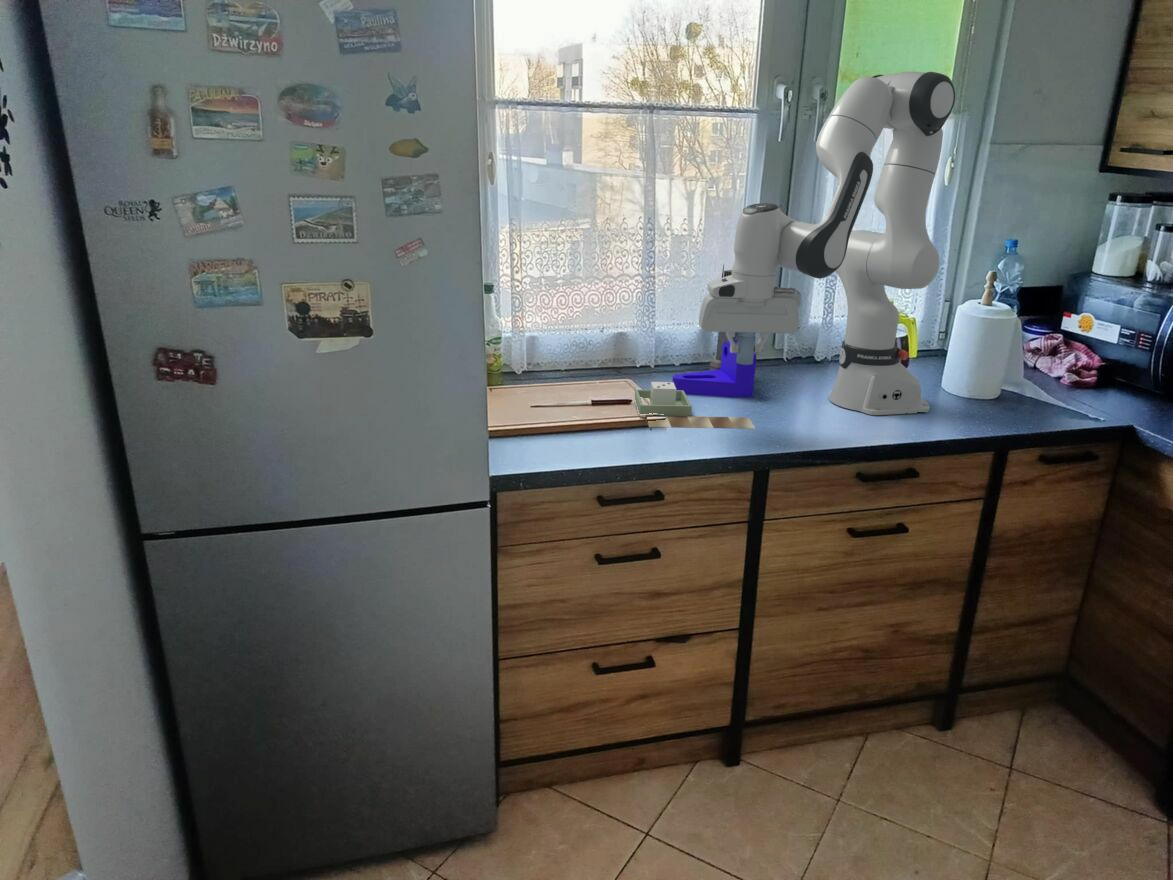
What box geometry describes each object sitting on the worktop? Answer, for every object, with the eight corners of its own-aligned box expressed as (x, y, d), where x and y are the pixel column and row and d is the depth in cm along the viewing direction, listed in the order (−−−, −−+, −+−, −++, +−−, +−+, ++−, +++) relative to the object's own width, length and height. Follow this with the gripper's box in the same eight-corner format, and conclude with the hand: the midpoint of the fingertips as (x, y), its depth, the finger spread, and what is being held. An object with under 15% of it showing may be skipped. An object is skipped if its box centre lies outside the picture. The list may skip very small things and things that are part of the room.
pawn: (750, 360, 185) (754, 323, 182) (754, 365, 182) (758, 327, 179) (734, 360, 185) (738, 322, 182) (738, 364, 182) (742, 326, 179)
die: (671, 403, 199) (673, 381, 197) (674, 410, 194) (676, 388, 192) (649, 402, 198) (651, 380, 197) (652, 410, 194) (653, 387, 192)
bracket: (736, 385, 216) (741, 339, 211) (751, 400, 206) (757, 351, 201) (665, 387, 212) (669, 339, 208) (677, 401, 202) (681, 352, 198)
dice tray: (682, 402, 202) (683, 390, 201) (690, 418, 191) (691, 406, 190) (634, 401, 201) (634, 389, 200) (639, 417, 191) (640, 405, 190)
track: (748, 419, 192) (748, 417, 192) (755, 431, 185) (755, 428, 185) (645, 418, 190) (646, 415, 190) (649, 429, 184) (650, 426, 184)
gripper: (798, 284, 181) (790, 349, 186) (700, 282, 180) (694, 347, 185) (807, 291, 175) (798, 357, 180) (706, 288, 174) (700, 355, 179)
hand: (745, 352), depth 183 cm, fingers closed on pawn, 3 cm apart
